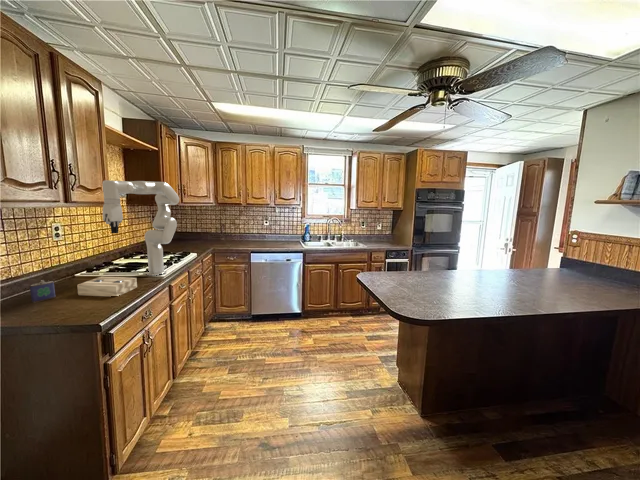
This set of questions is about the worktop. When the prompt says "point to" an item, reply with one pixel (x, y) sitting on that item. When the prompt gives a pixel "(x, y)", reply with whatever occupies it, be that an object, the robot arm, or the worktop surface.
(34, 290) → the flask
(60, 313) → the worktop surface
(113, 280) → the maple block
